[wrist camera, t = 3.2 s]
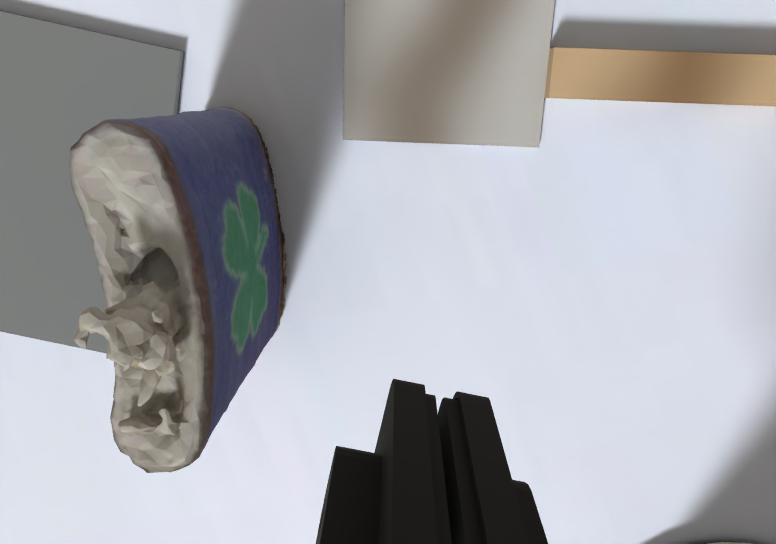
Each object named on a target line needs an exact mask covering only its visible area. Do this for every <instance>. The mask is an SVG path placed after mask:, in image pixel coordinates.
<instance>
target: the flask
mask: <svg viewBox="0 0 776 544" xmlns="http://www.w3.org/2000/svg"><path fill="white" fill-rule="evenodd" d="M268 159H269V156H268V153H267V148H265V144H264V142H263V140H262V137H261V134H260V132H259V130H258V128H257V127H256V126H255V125H254V124H253V123H252V120H251V119H250V118H248V117H246V116H245V115H244V114H243V113H241V112H239V111H238V110H234V109H231V108H215V109H210V110H205V111H190V112H182V113H179V114H174V115H170V116H154V117H148V118H136V119H108V120H104V121H101V122H100V123H99V124H98V125H96V126H94V127H92V128H91V129H89V130H88V131H86V132H84V133H83V134H82V135H81V137H80V139H79V140H78V141H77V142H76V143H75V144H74V145H73V146H72V147H71V149H70V159H69V169H70V177H71V185H72V189H73V192H74V194H75V197H76V199H77V202H78V204H79V206H80V209H81V211H82V214H83V219H84V223H85V227H86V229H87V231H88V233H89V235H90V238H91V240H92V243H93V247H94V251H95V255H96V258H97V267H98V270H99V272H100V274H101V284H102V287H103V291H104V295H105V301H106V307H107V309H105V310H104V313H103V312H102V311H101V310H100V309H99V308H96V307H89V308H87V309H85V310H84V311H82V312H81V315H80V318H79V328H78V330H77V332H76V334H75V336H74V340H75V342H76V344H77V345H78V346H80V347H81V348H84V349H86V345H87V341H88V338H89V334H92V333H95V332H97V333H99V334H101V335H103V336H104V337H105V338H106V339H107V340H108V342H109V344H108V349H107V358H109V359H110V360H112V361H114V367H115V387H114V396H113V398H114V401H113V406H112V412H111V418H110V419H111V424H112V430H113V436H114V441H115V442H116V444H117V446H118V448H119V450H120V452H122V453H124V454H126V455H128V456H129V457H130V458H131V460H132V462H133V464H135V465H137V466H139V467H140V468H142V469H144V470H145V471H146V472H147V473H154V472H172V471H176V470H179V469H181V468H184V467H186V466H188V465H190V464H191V463H193V462H194V461H195V460H196V459H198V458H199V457H200V455H201V453H202V451H203V449H204V448H205V446H206V444H207V441H208V439H209V437H210V435H211V433H212V431H213V430H214V428H215V427H216V425H217V423H218V422H219V420H220V418H221V416H222V415H223V413H224V412H225V411H226V410H227V408H228V406H229V403H230V402H231V400H232V399H233V397H234V396H235V394H236V392H237V390H238V388H239V387H240V385H241V384H242V382H243V381H244V379H245V377H246V376H247V374H248V373H249V372H250V370H251V369H252V368H253V366H254V365H255V363H256V360H257V359H258V357H259V355H260V354H261V352H262V350H263V348H264V347H265V346H266V344H267V343H268V341H269V340H270V338H271V337H272V336H273V335H274V333H275V332H276V330H277V328H278V326H279V325H280V323H279V319H280V317H281V315H282V312H283V308H284V304H283V302H284V288H285V284H286V277H285V275H284V274H285V269H286V263H285V261H286V254H285V251H284V243H285V239H284V234H283V232H282V228H281V223H280V214H279V208H278V205H277V203H278V202H277V197H276V189H274V183H273V181H274V180H273V177H274V176H273V174H272V169H271V166H270V164H269V160H268Z"/></svg>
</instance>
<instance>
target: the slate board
mask: <svg viewBox="0 0 776 544" xmlns="http://www.w3.org/2000/svg"><path fill="white" fill-rule="evenodd" d="M183 55H184V52H182V51H178V50H173V49H169V48H164V47H160V46H155V45H151V44H146V43H142V42H137V41H133V40H128V39H124V38H119V37H115V36H110V35H106V34H101V33H97V32H92V31H88V30H83V29H79V28H74V27H70V26H65V25H61V24H56V23H52V22H47V21H43V20H38V19H34V18H29V17H25V16H20V15H16V14H11V13H7V12H2V11H0V331H1V332H6V333H11V334H16V335H20V336H25V337H30V338H35V339H40V340H45V341H49V342H54V343H59V344H64V345H69V346H74V347H78V348H81V347H80V346H78V345H77V344H76V342H75V340H74V336H75V334H76V332H77V330H78V328H79V318H80V315H81V312H82V311H84V310H85V309H87V308H89V307H96V308H99V309H100V310H101V311H102V312H103V313H104V310H105V309H107V307H106V301H105V295H104V291H103V287H102V284H101V274H100V272H99V270H98V267H97V258H96V255H95V251H94V247H93V243H92V240H91V238H90V235H89V233H88V231H87V229H86V227H85V223H84V219H83V214H82V211H81V209H80V206H79V204H78V202H77V199H76V197H75V194H74V192H73V189H72V185H71V177H70V169H69V159H70V149H71V147H72V146H73V145H74V144H75V143H76V142H77V141H78V140H79V139H80V137H81V135H82V134H83V133H84V132H86V131H88V130H89V129H91V128H92V127H94V126H96V125H98V124H99V123H100V122H101V121H104V120H108V119H136V118H148V117H154V116H170V115H174V114H177V112H178V102H179V93H180V83H181V74H182V64H183ZM108 344H109V342H108V340H107V339H106V338H105V337H104V336H103V335H101V334H99V333H97V332H95V333H92V334H89V338H88V341H87V345H86V349H88V350H93V351H98V352H103V353H107V349H108ZM83 349H84V348H83Z"/></svg>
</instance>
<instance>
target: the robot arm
mask: <svg viewBox="0 0 776 544" xmlns="http://www.w3.org/2000/svg"><path fill="white" fill-rule="evenodd" d="M316 544H548V542H547V539H546V535H545V532H544V529H543V526H542V523H541V520H540V517H539V513H538V510H537V507H536V504H535V501H534V498H533V495H532V491H531V489H530V487H529V485H528V484H527V483H525V482H521V481H516V480H512V478H511V474H510V471H509V467H508V464H507V460H506V456H505V453H504V449H503V446H502V442H501V438H500V435H499V431H498V428H497V424H496V421H495V417H494V413H493V410H492V406H491V403H490V400H489V398H487V397H482V396H477V395H472V394H467V393H462V392H456V393H455V395H454V397H453V399H450V398H445V397H444V398H443V399H442V402H441V405H440V408H439V412H438V415H437V407H436V398H435V396H434V395H429V394H425V386H424V385H422V384H417V383H412V382H407V381H402V380H397V379H393V381H392V383H391V387H390V391H389V395H388V399H387V403H386V407H385V411H384V415H383V420H382V424H381V428H380V432H379V436H378V440H377V445H376V449H375V453H371V452H365V451H360V450H355V449H350V448H345V447H340V446H336V448H335V452H334V457H333V461H332V466H331V470H330V475H329V480H328V484H327V489H326V494H325V499H324V504H323V509H322V514H321V519H320V524H319V529H318V535H317V540H316ZM708 544H753V543H737V542H717V543H708Z"/></svg>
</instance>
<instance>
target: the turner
mask: <svg viewBox="0 0 776 544" xmlns="http://www.w3.org/2000/svg"><path fill="white" fill-rule="evenodd" d="M554 3H555V0H345V29H344V106H343V140H363V141H388V142H414V143H440V144H466V145H492V146H517V147H539V143H540V134H541V124H542V115H543V106H544V98H564V99H591V100H618V101H645V102H672V103H699V104H726V105H753V106H776V55H759V54H730V53H702V52H674V51H645V50H617V49H588V48H560V47H554V48H550V40H551V31H552V22H553V12H554Z"/></svg>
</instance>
